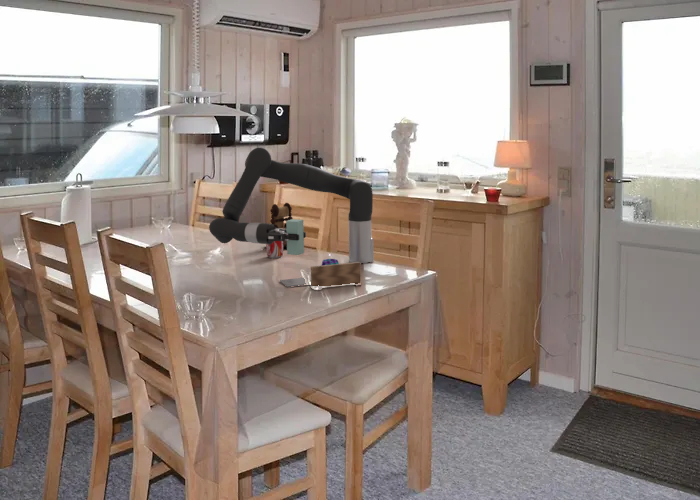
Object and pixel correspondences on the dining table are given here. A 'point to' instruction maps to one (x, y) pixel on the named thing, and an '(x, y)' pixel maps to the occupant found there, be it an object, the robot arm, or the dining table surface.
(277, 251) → the soda can
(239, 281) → the dining table surface
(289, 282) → the slate coaster
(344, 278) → the walnut screen
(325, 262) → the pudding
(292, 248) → the teal rectangular block
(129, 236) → the dining table surface
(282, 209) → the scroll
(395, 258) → the dining table surface
